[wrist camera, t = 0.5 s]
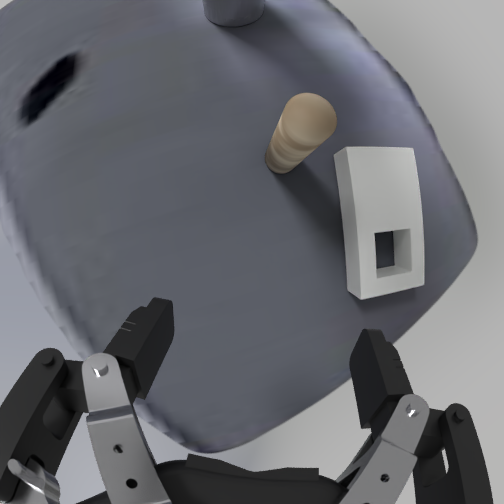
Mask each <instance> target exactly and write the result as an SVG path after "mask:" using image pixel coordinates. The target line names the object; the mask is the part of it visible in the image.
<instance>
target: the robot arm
mask: <svg viewBox="0 0 504 504" xmlns="http://www.w3.org/2000/svg"><path fill="white" fill-rule="evenodd" d="M264 2H265V0H203V6H204V13H205V15H206V17H207V18H208V19H209V20H210V21H211V22H213V23H215V24H218V25H222V26H230V27H233V26H243V25H247V24H250V23H252V22H254V21H256V20H257V19H259V18H260V16H261V15H262V13H263V9H264ZM173 336H174V317H173V303H172V301H171V300H166V299H161V298H156V297H154V298H153V299H152V300H151V302H150V303H149V305H148V306H147V307H142V306H141V307H139V308H138V309H136V310H134V311H133V312H131V314H130V315H129V317H128V318H127V319H126V322H124V323H123V325H122V326H121V329H119V330H118V332H117V333H116V335H115V336H114V337H113V339H112V340H111V342H110V343H109V345H108V346H107V347H106V349H105V350H104V352H103V353H97V354H93V355H91V356H89V357H88V358H87V359H86V360H85V361H72V360H65V359H64V357H63V355H62V353H61V352H60V351H59V350H57V349H54V348H46V349H43V350H41V351H39V352H38V353H37V354H36V355H35V357H34V358H33V359H32V361H31V362H30V363H29V365H28V366H27V367H26V369H25V370H24V372H23V373H22V375H21V376H20V377H19V379H18V380H17V382H16V383H15V385H14V386H13V388H12V389H11V391H10V392H9V394H8V395H7V397H6V399H5V400H4V402H3V403H2V405H1V407H0V504H60V502H59V497H60V487H59V483H58V481H57V480H56V478H55V475H56V472H57V470H58V467H59V465H60V462H61V460H62V458H63V455H64V453H65V450H66V448H67V446H68V444H69V441H70V439H71V437H72V435H73V433H74V430H75V428H76V426H77V424H78V422H79V420H80V418H81V415H82V414H83V412H85V413H89V416H87V417H86V421H87V426H88V431H89V435H90V439H91V443H92V447H93V450H94V454H95V457H96V461H97V464H98V467H99V471H100V474H101V476H102V480H103V482H104V485H105V488H106V491H104V492H103V493H100V494H98V495H95V496H93V497H91V498H89V499H86V500H84V501H81V502H79V503H76V504H395V502H396V501H397V499H398V497H399V495H400V493H401V492H402V490H403V488H404V486H405V484H406V482H407V480H408V478H409V476H410V474H411V472H412V471H413V478H414V487H415V497H416V504H493V498H492V492H491V487H490V482H489V477H488V472H487V468H486V465H485V460H484V456H483V453H482V449H481V446H480V442H479V439H478V436H477V432H476V429H475V427H474V423H473V421H472V418H471V415H470V413H469V411H468V409H467V408H466V407H464V406H463V405H461V404H457V403H454V404H451V405H450V406H449V407H448V408H447V409H446V410H445V411H442V410H436V409H431V408H429V406H428V404H427V403H426V401H425V400H424V399H423V398H421V397H420V396H418V395H415V394H414V393H413V391H412V388H411V385H410V382H409V380H408V377H407V374H406V372H405V369H404V368H403V364H402V361H400V356H399V354H398V351H397V350H396V349H395V347H394V346H393V345H392V344H391V343H390V342H386V340H385V337H384V335H383V333H382V331H381V330H377V329H363V330H362V332H361V334H360V336H359V339H358V341H357V343H356V345H355V347H354V349H353V352H352V354H351V357H350V371H351V376H352V381H353V385H354V391H355V396H356V401H357V407H358V412H359V419H360V425H361V428H362V429H364V428H371V432H372V433H371V434H370V435H369V437H368V438H367V440H366V441H365V443H364V444H363V446H362V448H361V449H360V450H359V452H358V453H357V455H356V456H355V458H354V459H353V461H352V462H351V463H350V465H349V466H348V467H347V468H346V470H345V471H344V472H343V473H342V474H341V475H340V476H339V477H338V478H337V479H336V480H335V481H334V480H332V479H330V478H327V477H324V476H321V475H319V468H288V467H287V468H282V469H275V470H268V471H259V472H252V471H248V470H245V469H243V468H240V467H237V466H235V465H232V464H229V463H227V462H224V461H222V460H218V459H212V458H207V457H202V456H198V455H193V454H188V457H187V460H174V461H168V462H164V463H160V464H157V463H156V461H155V459H154V457H153V455H152V452H151V450H150V448H149V446H148V444H147V441H146V439H145V436H144V434H143V431H142V429H141V426H140V423H139V421H138V418H137V415H136V412H135V409H134V407H133V403H134V401H135V398H136V397H138V398H141V399H144V400H145V399H146V396H147V394H148V392H149V390H150V388H151V385H152V383H153V381H154V379H155V377H156V375H157V372H158V370H159V368H160V366H161V364H162V362H163V360H164V357H165V355H166V353H167V351H168V349H169V347H170V345H171V343H172V340H173ZM444 449H445V451H446V456H447V460H448V465H449V468H448V472H447V474H446V470H445V465H444V460H443V455H442V450H444Z"/></svg>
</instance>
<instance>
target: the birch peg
mask: <svg viewBox="0 0 504 504" xmlns="http://www.w3.org/2000/svg"><path fill="white" fill-rule="evenodd" d="M336 126H337V116H336V113H335V110H334V109H333V107H332V106H331V104H330V103H329V102H328V101H327V100H326V99H324V98H323V97H321V96H319V95H316V94H312V93H301V94H298V95H296V96H294V97H292V98H291V99H290V100H289V101H288V102H287V104H286V106H285V108H284V111H283V113H282V115H281V118H280V120H279V122H278V125H277V127H276V129H275V132H274V134H273V137H272V139H271V141H270V144H269V146H268V148H267V151H266V153H265V162H266V164H267V166H268V168H269V169H270V170H272V171H273V172H275V173H279V174H284V173H288V172H290V171H291V170H292V169H293V168H295V167H296V166H297V165H298V164H299V163H300V162H301V161H302V160H304V159H305V158H306V157H307V156H308V155H309V154H310V153H311V152H313V151H314V150H315V149H316V148H317V147H318V146H320V145H321V144H322V143H323V142H324V141H325V140H326V139H328V138H329V137H330V136H331V135H332V134H333V133H334V131H335V129H336Z"/></svg>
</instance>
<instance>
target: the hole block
mask: <svg viewBox="0 0 504 504" xmlns="http://www.w3.org/2000/svg"><path fill="white" fill-rule="evenodd" d="M333 156H334V162H335V168H336V175H337V182H338V189H339V196H340V204H341V213H342V222H343V233H344V244H345V257H346V272H347V290H348V291H349V292H351V293H352V294H353V295H355V296H356V297H358V298H359V299H361V300H362V299H367V298H371V297H376V296H380V295H385V294H389V293H394V292H398V291H402V290H406V289H410V288H414V287H418V286H422V285H424V233H423V218H422V207H421V197H420V189H419V181H418V174H417V168H416V162H415V156H414V151H413V148H401V147H345V148H343V149H342V150H340V151H339V152H337V153H336V154H334V155H333ZM386 231H393V240H394V263H395V266H389V267H384V268H379V269H376V250H375V235H374V233H378V232H386Z"/></svg>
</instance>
